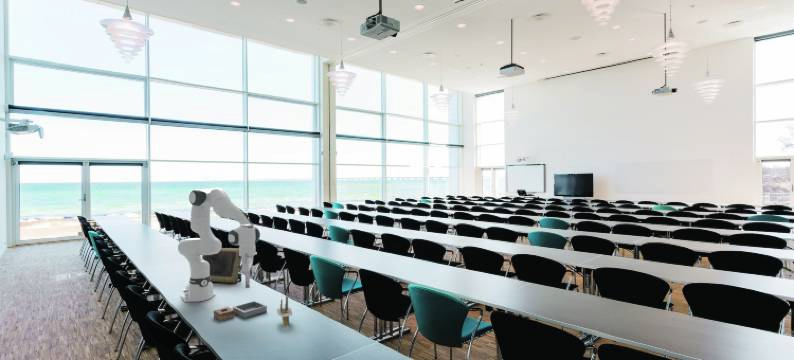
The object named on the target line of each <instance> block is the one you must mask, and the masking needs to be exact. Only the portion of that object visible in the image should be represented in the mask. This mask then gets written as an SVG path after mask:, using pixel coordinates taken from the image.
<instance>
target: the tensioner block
mask: <svg viewBox="0 0 794 360" xmlns="http://www.w3.org/2000/svg"><path fill="white" fill-rule="evenodd" d="M235 316H236V314H235V310H234V309H233V307H232V308H231V307H229V306H226V307H221V308H219V309H215V310H213V318H214V319H216V320H218V321H219V322H222V321H226V320H229V319H233V318H236V317H235Z"/></svg>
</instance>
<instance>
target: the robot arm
mask: <svg viewBox="0 0 794 360" xmlns="http://www.w3.org/2000/svg"><path fill="white" fill-rule="evenodd" d="M188 199H189V203H190V204H191V206H192V207H191V211H190V229H191V231H192V232H194V233H196V234H198V236H199V237H193V238H191V237H190V238H186V239H181V240H180V242H178V245H177V251H178V253H179V254H180V255H182V256H183V257H184V258H185V260H186V261H187V262H188V264H189V271H190V277H189V280H188V282H189V283H188V284H187V285H186V286H185V288H184V289H183V291H182V292H183V294H181V296H180V298H181V299H182V300H183V301H184V303H188V302H189V303H190V302H192V303H193V302H203V301H208V300H211V299H212V298H213V297H214V296H216V292H214V285H213V282H210V281H211V276H210V265H209V263H208V262H207V261H205V260H203V259H202V255H212V254H217V253H219V251H220V250H221V248H223V247H222V246H223V245H222V242H221V240H220V239H219V238H217V237H216V236H215V234H214V233H213V231H212V229H211V208H212V210H213V211H214V213H215V214H216V215H217V216H218V217H221V218H226V219H231V220H235V221H237V222H238V223H239V224H240V225H239V226H238V227H237V228H235V229H231V230H230V231H229V232H228V236H227V240H228V242H229V244H230V245H232V246H239V247H238V248H239V256H242V258H241V271H242V272H243V273H244V278H245V277H249V272H251V268H252V266H253V263H254V256H255V255H257V252H256V250H257V249H256V248H257V247H256V243H257V242H258V241H259V240H260V237H261V233H260V230H259V229H258V228H257V226H255V224H253V223H252V221H251V220H250V219H249V217H248V216H247V214H246V213H245V212H244V210H243V209H241V208H240V207H238V206H237V205H236V204H234V202H232V200H231V198H230V196H229V195H228V194H227V192H226V191H225V190H224V189H223V188H221V187H216V188H202V189H199V188H198V189H197V188H196V189H194V190H192V191H191V192H190V193H189V195H188Z"/></svg>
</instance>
